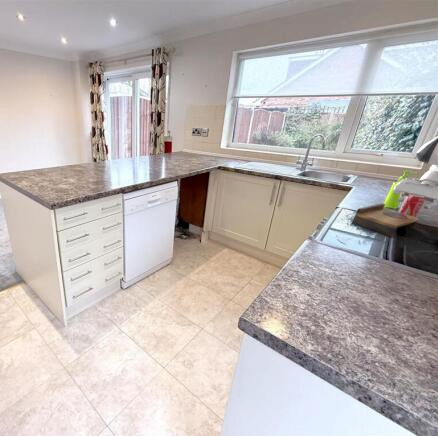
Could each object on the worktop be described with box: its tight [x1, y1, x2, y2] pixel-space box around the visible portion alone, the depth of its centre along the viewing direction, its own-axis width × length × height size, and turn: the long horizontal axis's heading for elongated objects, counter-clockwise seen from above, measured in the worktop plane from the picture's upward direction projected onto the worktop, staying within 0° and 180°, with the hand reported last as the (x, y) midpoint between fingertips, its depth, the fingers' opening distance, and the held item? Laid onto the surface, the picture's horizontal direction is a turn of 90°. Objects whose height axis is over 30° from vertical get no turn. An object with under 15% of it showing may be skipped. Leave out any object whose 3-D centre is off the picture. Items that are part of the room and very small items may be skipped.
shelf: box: [351, 202, 420, 238], centre depth 108 cm, size 14×22×7 cm, turn 117°
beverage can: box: [398, 194, 425, 217], centre depth 116 cm, size 6×6×12 cm
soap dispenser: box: [383, 170, 419, 210], centre depth 130 cm, size 6×7×20 cm
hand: (412, 204), depth 116 cm, fingers open, 8 cm apart
